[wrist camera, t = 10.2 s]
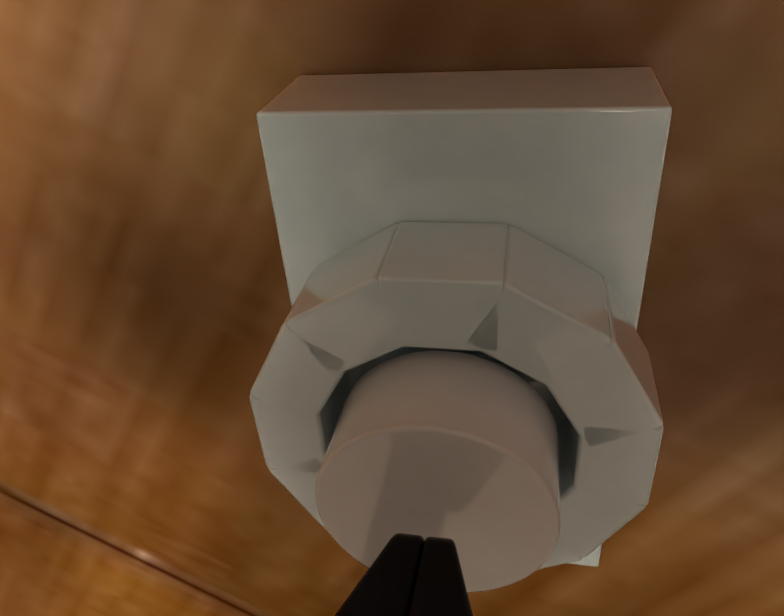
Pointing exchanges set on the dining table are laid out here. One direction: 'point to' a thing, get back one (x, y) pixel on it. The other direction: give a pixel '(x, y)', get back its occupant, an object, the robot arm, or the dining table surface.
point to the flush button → (445, 465)
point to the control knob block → (471, 260)
